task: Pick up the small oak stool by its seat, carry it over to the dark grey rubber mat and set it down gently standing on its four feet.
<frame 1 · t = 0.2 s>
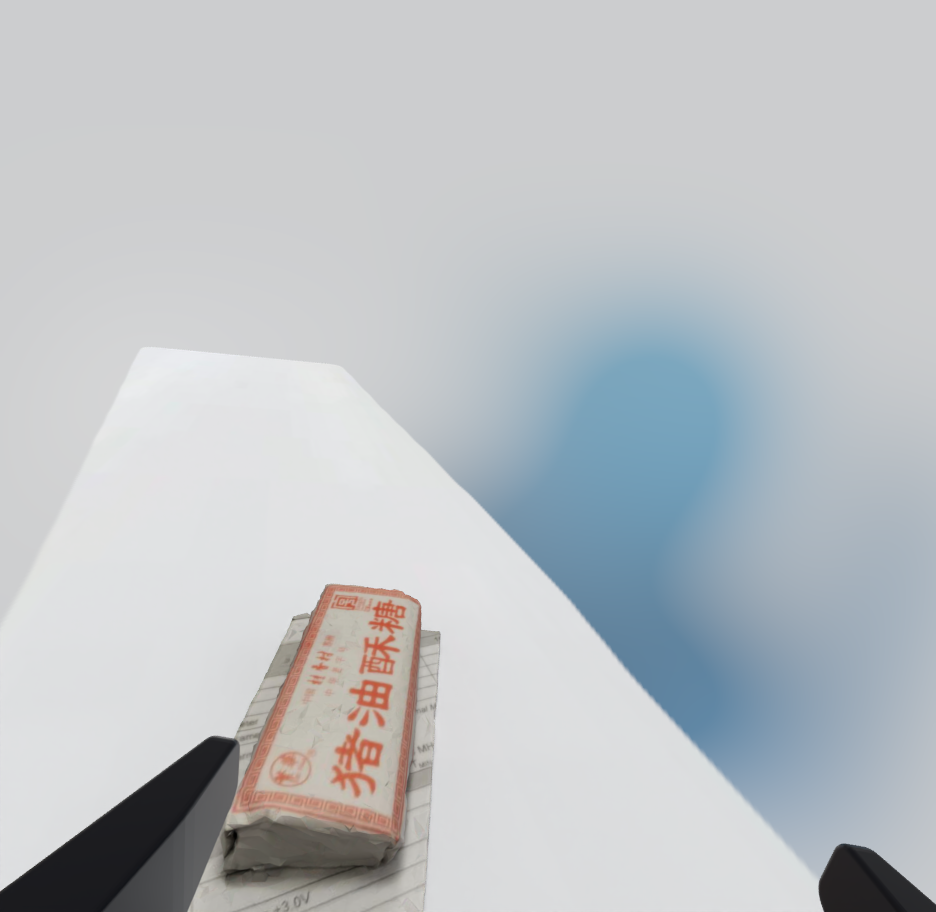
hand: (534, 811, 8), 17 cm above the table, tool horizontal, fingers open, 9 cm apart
packaged product: (338, 751, 28), on the table
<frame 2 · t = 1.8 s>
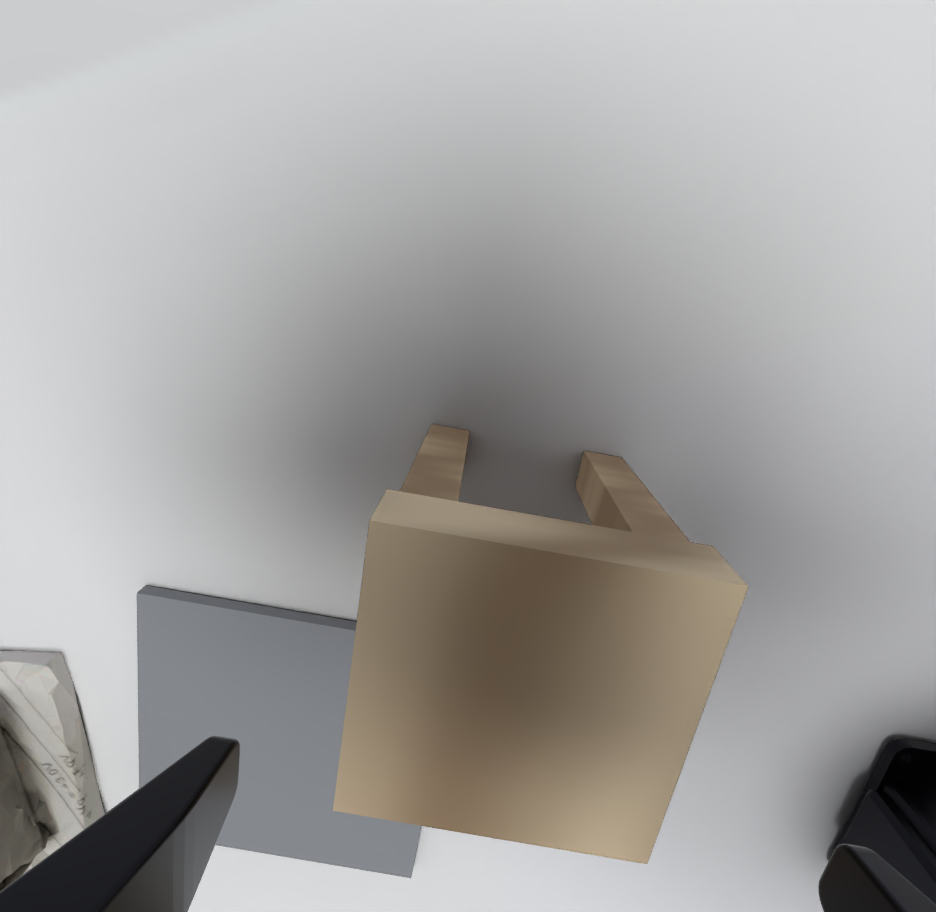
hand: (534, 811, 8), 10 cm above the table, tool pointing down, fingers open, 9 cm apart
mat: (290, 736, 20), on the table
stool: (508, 528, 17), on the table
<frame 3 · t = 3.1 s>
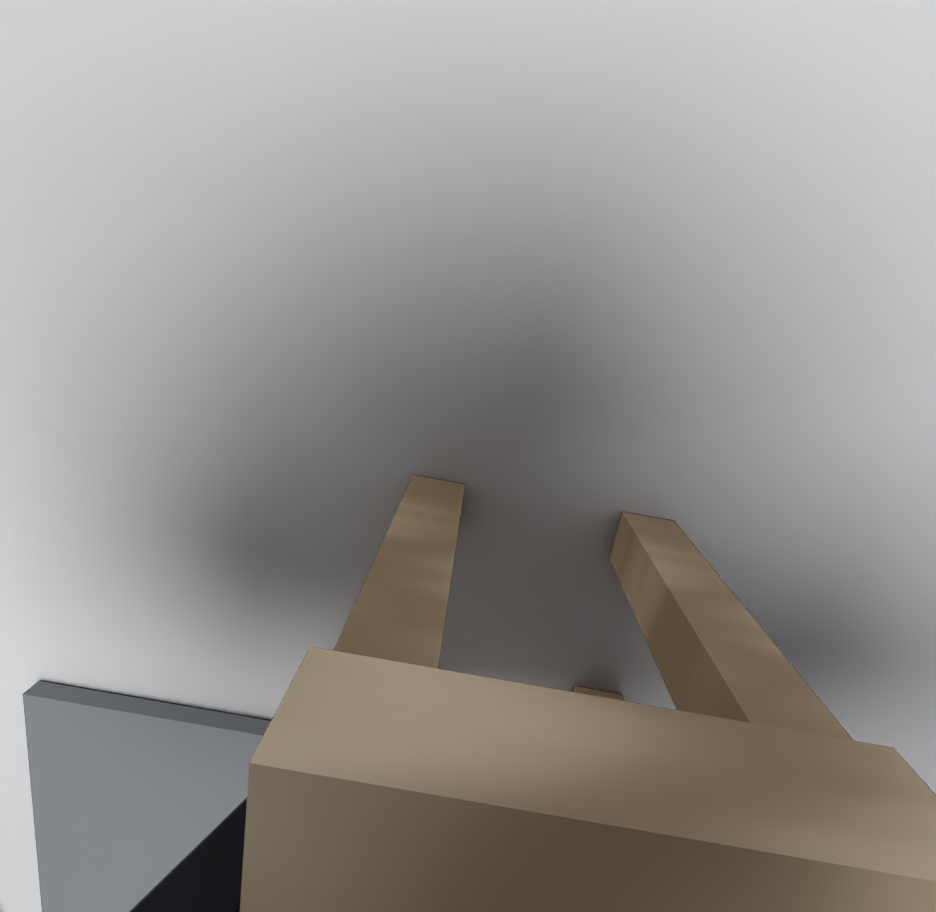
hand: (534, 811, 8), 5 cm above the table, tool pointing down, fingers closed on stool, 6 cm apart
mat: (235, 866, 16), on the table
stool: (518, 612, 13), on the table, touching gripper
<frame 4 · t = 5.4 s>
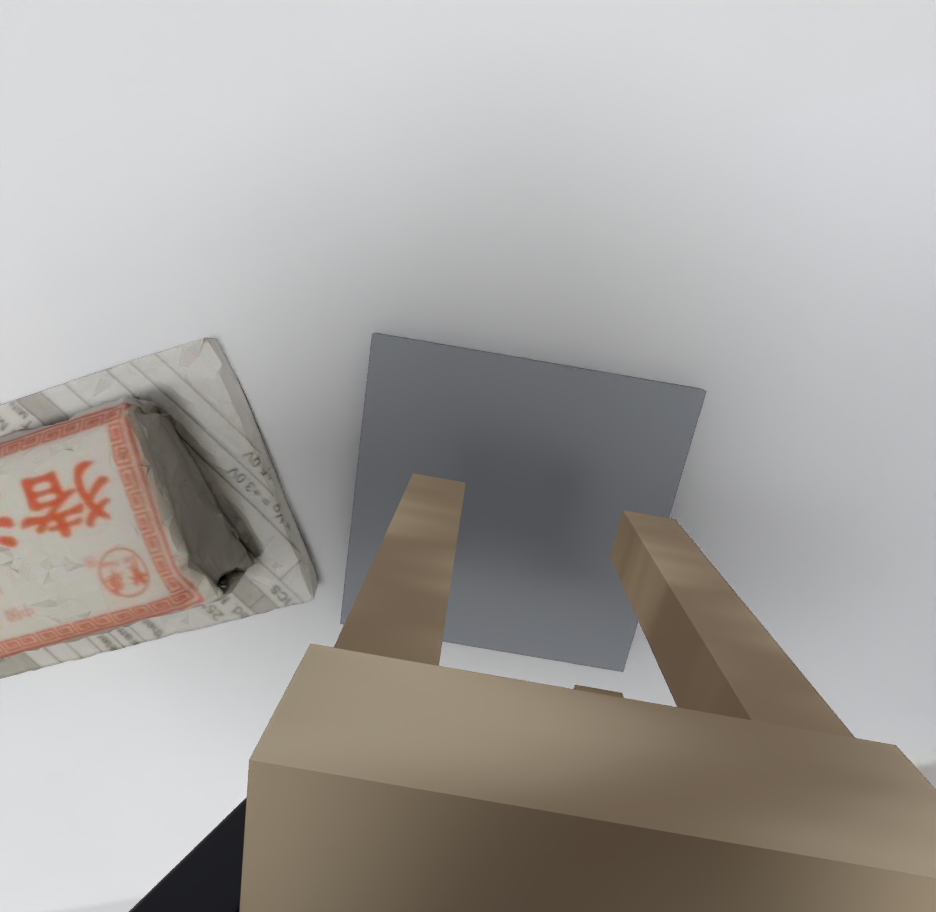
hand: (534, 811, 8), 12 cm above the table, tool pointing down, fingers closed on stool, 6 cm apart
mat: (507, 511, 19), on the table
stool: (518, 610, 13), point 7 cm above the table, touching gripper
packaged product: (75, 523, 21), on the table
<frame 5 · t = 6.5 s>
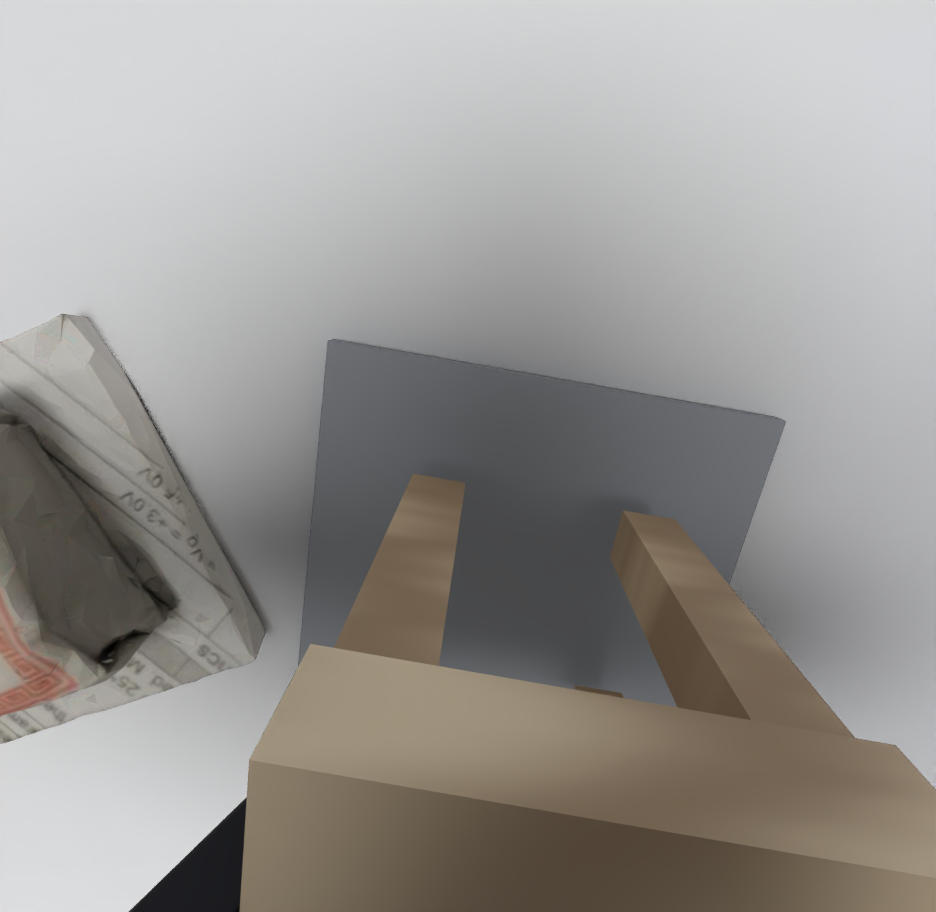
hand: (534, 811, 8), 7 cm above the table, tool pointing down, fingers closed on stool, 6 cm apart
mat: (512, 575, 15), on the table
stool: (518, 610, 13), point 2 cm above the table, touching gripper
when the fingers open (7 cm above the table, at t = 7.6 s): stool drops 1 cm, resting on mat.
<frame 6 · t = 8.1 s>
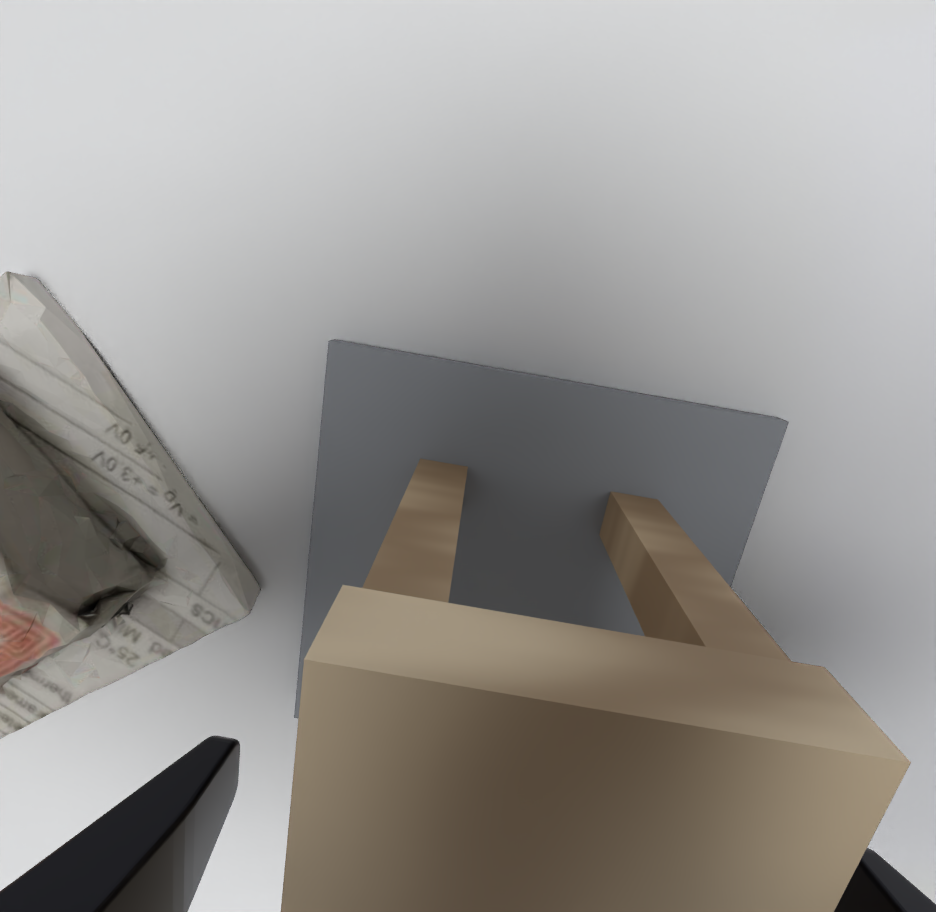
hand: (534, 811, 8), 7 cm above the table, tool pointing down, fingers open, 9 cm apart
mat: (513, 576, 15), on the table
stool: (516, 584, 14), resting on mat
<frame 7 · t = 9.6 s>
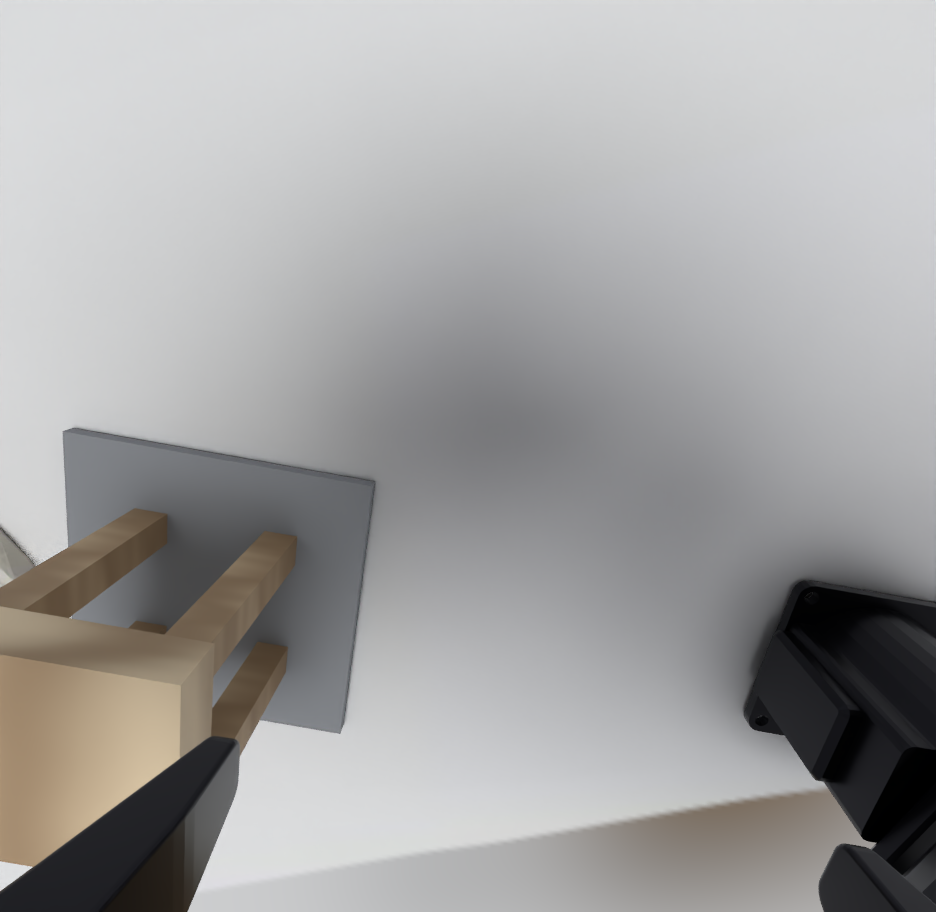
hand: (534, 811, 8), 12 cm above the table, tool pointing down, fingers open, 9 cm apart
mat: (218, 587, 21), on the table
stool: (213, 593, 20), resting on mat
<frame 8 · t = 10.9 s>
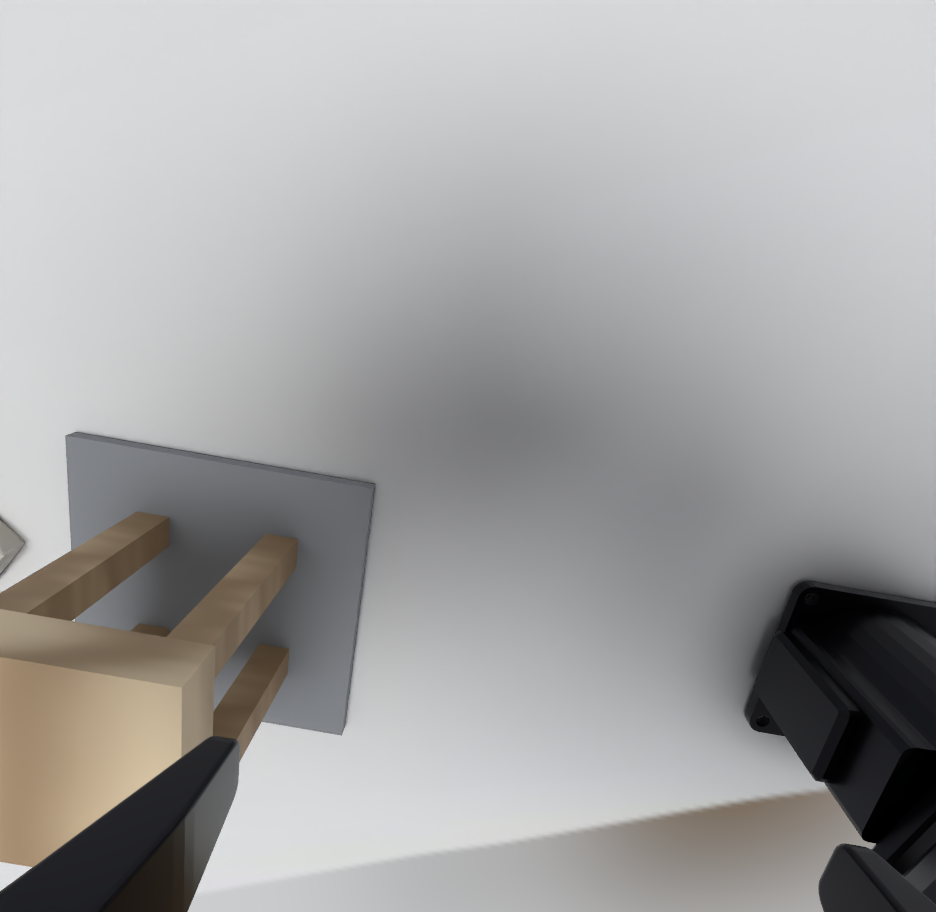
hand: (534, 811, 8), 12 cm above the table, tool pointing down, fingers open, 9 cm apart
mat: (220, 590, 21), on the table
stool: (215, 596, 20), resting on mat
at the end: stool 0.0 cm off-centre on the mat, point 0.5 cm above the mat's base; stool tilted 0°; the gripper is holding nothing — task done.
